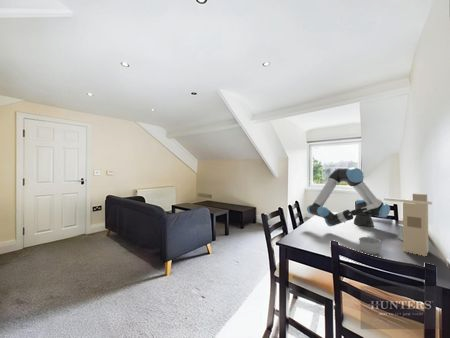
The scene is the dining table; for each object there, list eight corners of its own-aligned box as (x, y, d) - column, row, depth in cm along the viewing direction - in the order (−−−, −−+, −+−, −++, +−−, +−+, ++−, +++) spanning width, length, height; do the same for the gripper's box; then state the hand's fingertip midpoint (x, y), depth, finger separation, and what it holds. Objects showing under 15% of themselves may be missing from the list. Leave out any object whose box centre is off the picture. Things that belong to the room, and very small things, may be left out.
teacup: (380, 258, 112) (380, 244, 112) (357, 252, 119) (357, 239, 120) (382, 250, 123) (382, 237, 123) (361, 246, 130) (361, 234, 130)
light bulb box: (419, 244, 133) (419, 228, 133) (407, 243, 134) (407, 227, 134) (408, 239, 143) (408, 224, 144) (397, 238, 145) (397, 223, 145)
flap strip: (385, 199, 134) (385, 191, 135) (432, 203, 118) (431, 194, 118) (384, 200, 132) (383, 192, 132) (431, 204, 115) (431, 195, 115)
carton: (406, 246, 129) (406, 200, 129) (428, 251, 121) (427, 202, 122) (403, 251, 121) (402, 202, 122) (426, 256, 114) (425, 204, 114)
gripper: (354, 218, 158) (382, 208, 144) (341, 223, 142) (372, 212, 128) (348, 209, 161) (376, 198, 147) (336, 213, 145) (365, 202, 131)
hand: (374, 205), depth 137 cm, fingers open, 13 cm apart
